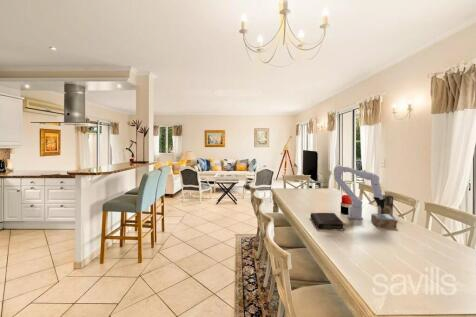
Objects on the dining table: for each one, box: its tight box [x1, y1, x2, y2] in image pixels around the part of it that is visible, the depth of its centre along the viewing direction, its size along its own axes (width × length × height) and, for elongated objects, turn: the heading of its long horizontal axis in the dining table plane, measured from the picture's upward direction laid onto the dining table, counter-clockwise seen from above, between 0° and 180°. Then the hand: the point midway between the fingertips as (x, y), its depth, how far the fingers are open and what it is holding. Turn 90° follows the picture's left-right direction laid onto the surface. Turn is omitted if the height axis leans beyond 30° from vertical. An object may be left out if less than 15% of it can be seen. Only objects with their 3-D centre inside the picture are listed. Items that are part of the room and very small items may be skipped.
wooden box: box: [370, 213, 398, 229], centre depth 172 cm, size 12×13×5 cm
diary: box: [310, 212, 346, 231], centre depth 174 cm, size 19×25×5 cm
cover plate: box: [372, 213, 395, 221], centre depth 173 cm, size 10×11×2 cm
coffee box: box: [377, 194, 394, 217], centre depth 196 cm, size 9×6×16 cm
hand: (381, 206), depth 183 cm, fingers open, 7 cm apart
